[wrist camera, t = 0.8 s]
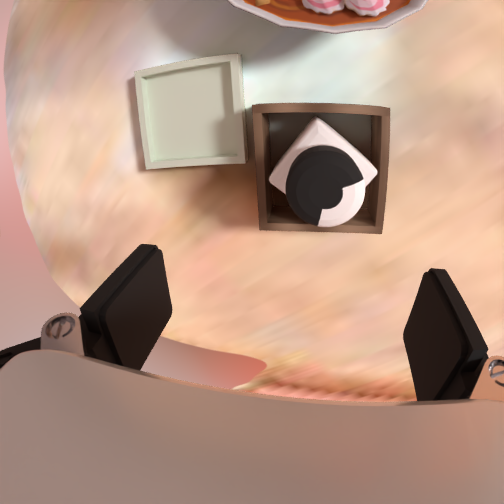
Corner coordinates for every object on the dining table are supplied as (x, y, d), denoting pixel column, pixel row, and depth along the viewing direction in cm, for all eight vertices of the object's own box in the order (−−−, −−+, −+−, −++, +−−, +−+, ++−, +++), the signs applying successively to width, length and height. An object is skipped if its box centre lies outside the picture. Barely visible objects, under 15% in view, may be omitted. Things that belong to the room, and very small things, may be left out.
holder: (378, 106, 28) (390, 108, 23) (373, 215, 34) (381, 234, 29) (260, 103, 30) (251, 105, 26) (266, 212, 36) (259, 230, 32)
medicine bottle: (275, 164, 33) (257, 199, 23) (315, 114, 30) (318, 123, 19) (325, 203, 34) (330, 254, 24) (366, 156, 31) (393, 189, 20)
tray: (241, 55, 28) (237, 53, 26) (248, 159, 33) (245, 163, 32) (142, 72, 30) (134, 71, 28) (153, 165, 36) (146, 169, 34)
